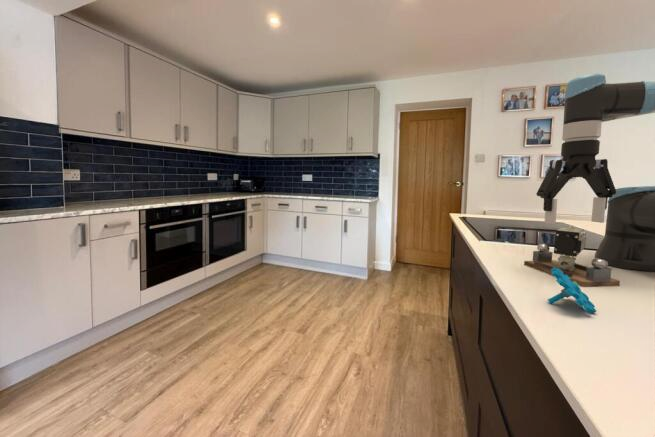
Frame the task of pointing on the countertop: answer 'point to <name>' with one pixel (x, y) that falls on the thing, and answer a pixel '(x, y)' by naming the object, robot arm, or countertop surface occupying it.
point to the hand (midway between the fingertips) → (573, 223)
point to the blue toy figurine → (571, 291)
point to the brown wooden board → (571, 273)
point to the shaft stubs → (592, 273)
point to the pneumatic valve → (568, 246)
